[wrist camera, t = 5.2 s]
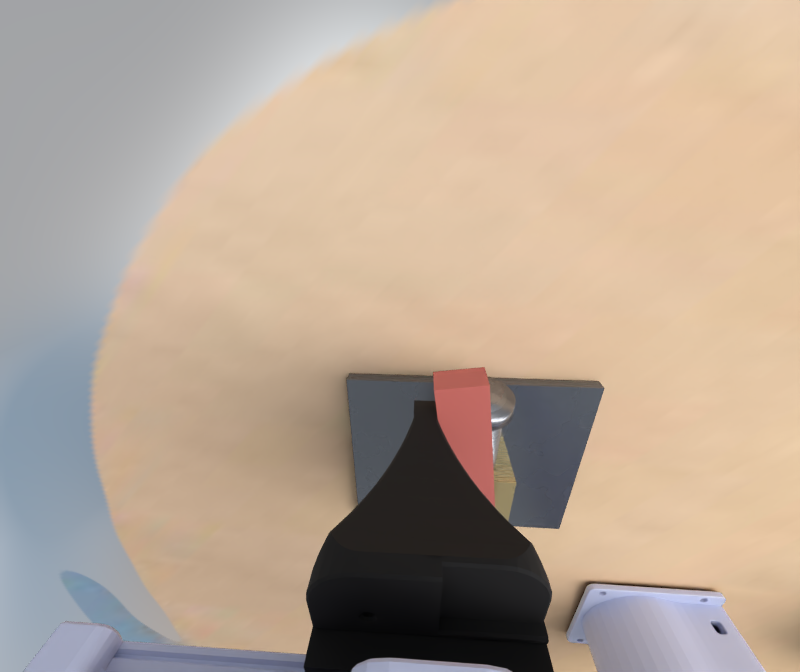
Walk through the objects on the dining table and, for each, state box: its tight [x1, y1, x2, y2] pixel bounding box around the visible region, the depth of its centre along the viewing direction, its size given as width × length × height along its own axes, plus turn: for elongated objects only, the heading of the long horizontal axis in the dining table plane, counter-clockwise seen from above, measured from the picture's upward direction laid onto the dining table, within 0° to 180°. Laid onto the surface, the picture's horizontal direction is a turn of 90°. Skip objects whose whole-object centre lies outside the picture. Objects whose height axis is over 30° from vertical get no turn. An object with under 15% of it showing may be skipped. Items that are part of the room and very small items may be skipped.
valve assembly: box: [347, 374, 604, 529], centre depth 18 cm, size 12×13×4 cm
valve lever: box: [433, 367, 495, 507], centre depth 14 cm, size 10×3×1 cm, turn 9°
